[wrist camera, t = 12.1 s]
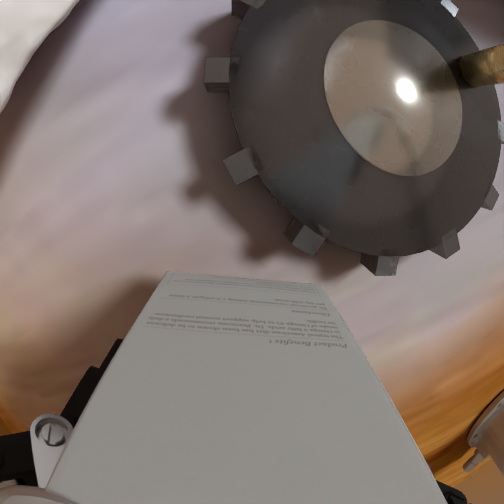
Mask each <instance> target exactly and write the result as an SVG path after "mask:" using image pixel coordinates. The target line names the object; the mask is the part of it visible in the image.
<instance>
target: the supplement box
mask: <svg viewBox="0 0 504 504" xmlns="http://www.w3.org/2000/svg"><path fill="white" fill-rule="evenodd" d="M44 491H45V492H47V493H50V494H53V495H56V496H59V497H62V498H64V499H66V500H69V501H71V502H74V503H76V504H447V502H446V500H445V498H444V496H443V494H442V492H441V490H440V488H439V486H438V484H437V482H436V480H435V478H434V476H433V474H432V473H431V471H430V469H429V467H428V465H427V463H426V461H425V459H424V457H423V456H422V454H421V452H420V450H419V448H418V446H417V444H416V443H415V441H414V439H413V437H412V435H411V434H410V432H409V430H408V428H407V426H406V425H405V423H404V421H403V419H402V418H401V416H400V414H399V412H398V410H397V408H396V407H395V405H394V404H393V402H392V400H391V398H390V396H389V394H388V393H387V391H386V389H385V388H384V386H383V384H382V383H381V381H380V379H379V377H378V376H377V374H376V373H375V371H374V369H373V367H372V366H371V364H370V362H369V361H368V359H367V357H366V356H365V354H364V352H363V351H362V349H361V347H360V346H359V344H358V343H357V341H356V340H355V338H354V336H353V334H352V333H351V331H350V330H349V328H348V326H347V325H346V323H345V322H344V320H343V318H342V317H341V315H340V314H339V312H338V311H337V309H336V308H335V306H334V305H333V303H332V302H331V300H330V298H329V297H328V295H327V294H326V292H325V291H324V289H323V288H322V286H321V285H319V284H307V283H296V282H284V281H271V280H258V279H246V278H235V277H223V276H212V275H201V274H191V273H180V272H171V271H167V272H166V273H165V275H164V276H163V278H162V280H161V281H160V283H159V284H158V286H157V287H156V289H155V290H154V292H153V293H152V295H151V297H150V298H149V300H148V301H147V303H146V304H145V306H144V307H143V309H142V311H141V312H140V314H139V316H138V317H137V319H136V320H135V322H134V324H133V325H132V327H131V328H130V330H129V332H128V333H127V335H126V337H125V338H124V340H123V342H122V343H121V345H120V347H119V348H118V350H117V352H116V354H115V355H114V357H113V359H112V360H111V362H110V364H109V365H108V367H107V369H106V371H105V372H104V374H103V376H102V378H101V379H100V381H99V383H98V385H97V387H96V388H95V390H94V392H93V394H92V396H91V398H90V399H89V401H88V403H87V405H86V407H85V409H84V410H83V412H82V414H81V416H80V418H79V420H78V422H77V424H76V425H75V427H74V429H73V431H72V433H71V435H70V437H69V439H68V441H67V443H66V445H65V447H64V449H63V451H62V453H61V455H60V457H59V459H58V461H57V463H56V465H55V467H54V470H53V472H52V474H51V476H50V478H49V481H48V483H47V485H46V487H45V490H44Z"/></svg>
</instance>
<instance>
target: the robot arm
mask: <svg viewBox="0 0 504 504" xmlns="http://www.w3.org/2000/svg"><path fill="white" fill-rule="evenodd" d="M122 342H123V340H122V339H119V338H118V339H117V340H116V342H115V343H114V345H113V346H112V348H111V350H110V351H109V353H108V355H107V356H106V358H105V360H104V361H103V363H102V365H101V366H100V368H96V367H93V366H91V367H89V369H88V370H87V372H86V373H85V375H84V376H83V378H82V380H81V381H80V383H79V384H78V386H77V388H76V389H75V391H74V393H73V394H72V396H71V398H70V399H69V401H68V403H67V404H66V406H65V408H64V409H63V411H62V413H61V415H60V416H59V415H56V414H44V415H41V416H39V417H37V418H36V419H35V420H34V421H33V422H32V424H31V428H30V431H26V432H21V433H16V434H10V435H4V436H0V504H76V503H74V502H71V501H69V500H66V499H64V498H62V497H59V496H56V495H53V494H50V493H47V492H45V491H44V490H45V487H46V485H47V483H48V481H49V478H50V476H51V474H52V472H53V470H54V467H55V465H56V463H57V461H58V459H59V457H60V455H61V453H62V451H63V449H64V447H65V445H66V443H67V441H68V439H69V437H70V435H71V433H72V431H73V429H74V427H75V425H76V424H77V422H78V420H79V418H80V416H81V414H82V412H83V410H84V409H85V407H86V405H87V403H88V401H89V399H90V398H91V396H92V394H93V392H94V390H95V388H96V387H97V385H98V383H99V381H100V379H101V378H102V376H103V374H104V372H105V371H106V369H107V367H108V365H109V364H110V362H111V360H112V359H113V357H114V355H115V354H116V352H117V350H118V348H119V347H120V345H121V343H122ZM467 443H468V444H469V446H470V447H476V450H475V451H474V455H473V456H472V457H470V458H469V459H468V460H467V461H466V462H465V463H464V464H463V469H464V471H466V472H470V471H471V470H472V469H473V468H474V467H475V466H476V465H477V464H478V463H479V462H483V461H484V460H485V459H487V458H489V457H491V458H492V459H493V461H494V462H495V464H496V465H497V467H498V468H499V469H500V471H501V473H502V474H503V475H504V391H503V392H502V393H501V394H500V395H499V396H498V397H497V398H496V399H495V400H494V401H493V402H492V403H491V404H490V405H489V406H488V408H487V409H486V410H485V411H484V412H483V413H482V415H481V416H480V417H479V418H478V420H477V421H476V422H475V424H474V425H473V427H472V428H471V430H470V432H469V434H468V437H467ZM426 463H427V462H426ZM427 465H428V464H427ZM428 467H429V469H430V466H429V465H428ZM430 471H431V469H430ZM436 482H437V484H438V486H439V488H440V490H441V492H442V494H443V496H444V498H445V500H446V502H447V504H467V499H466V497H465V495H464V494H463V493H462V492H460V491H459V490H457V489H454V488H452V487H450V486H448V485H446V484H443V483H441V482H439V481H437V480H436ZM469 504H471V503H469Z"/></svg>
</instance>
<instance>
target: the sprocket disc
mask: <svg viewBox="0 0 504 504" xmlns="http://www.w3.org/2000/svg"><path fill="white" fill-rule="evenodd" d="M458 10H459V9H458V8H457V7H456V6H455V5H454V4H453V3H452V2H451V1H450V0H232V15H233V16H235V17H237V18H240V19H242V22H241V24H240V26H239V28H238V30H237V33H236V36H235V39H234V43H233V46H232V50H231V57H206V59H205V73H204V84H205V87H206V89H207V92H208V93H229V97H230V106H231V112H232V118H233V123H234V126H235V129H236V132H237V136H238V139H239V142H240V144H241V146H242V148H243V150H241V151H239V152H237V153H235V154H233V155H231V156H230V157H228V158H226V159H224V160H223V162H224V164H225V166H226V168H227V169H228V171H229V173H230V175H231V177H232V178H233V180H234V182H235V184H236V185H238V184H240V183H242V182H244V181H246V180H247V179H249V178H251V177H253V176H255V175H257V176H258V177H259V179H260V180H261V182H262V183H263V184H264V185H265V187H266V188H267V189H268V190H269V191H270V193H271V194H272V195H273V196H274V197H275V198H276V199H277V200H278V201H279V202H280V203H281V204H282V205H283V206H284V207H285V208H286V209H287V210H288V211H289V212H290V213H291V214H292V215H293V216H294V219H293V220H292V222H291V223H290V225H289V226H288V228H287V229H286V231H285V232H284V234H285V235H286V237H287V238H288V240H289V241H290V243H291V244H292V245H293V246H295V247H297V248H298V249H300V250H302V251H303V252H305V253H306V254H308V255H310V256H311V257H314V255H315V254H316V252H317V251H318V249H319V248H320V246H321V245H322V243H323V242H324V240H325V239H328V240H329V241H331V242H333V243H335V244H337V245H340V246H342V247H345V248H347V249H350V250H352V251H356V252H361V253H362V254H361V260H360V263H361V264H363V265H364V266H365V267H366V268H367V269H368V270H369V271H370V272H372V273H373V274H374V275H375V276H395V274H396V269H397V264H398V258H399V256H407V255H411V254H416V253H420V252H424V251H426V250H430V251H432V252H434V253H436V254H438V255H439V256H441V257H443V258H445V259H447V258H448V257H450V256H451V255H452V254H454V253H455V252H457V251H458V250H460V246H459V241H458V236H457V233H458V232H459V231H460V230H462V229H463V228H464V227H465V226H466V225H467V224H468V222H469V221H470V220H471V219H472V218H473V217H474V216H475V214H476V213H477V211H478V210H479V209H480V207H482V208H486V209H489V210H492V209H493V207H494V205H495V203H496V201H497V199H498V196H499V194H498V192H497V191H496V189H495V188H494V186H493V185H492V183H493V181H494V178H495V174H496V171H497V167H498V163H499V157H500V150H501V144H504V123H502V122H501V115H500V108H499V102H498V97H497V93H496V90H495V86H494V85H495V84H502V83H504V44H502V45H498V46H494V47H490V48H487V49H483V50H480V51H479V49H478V47H477V46H476V44H475V42H474V41H473V39H472V38H471V36H470V35H469V33H468V32H467V31H466V29H465V28H464V27H463V26H462V24H461V23H460V22H459V21H458V20H457V19H456V18H455V16H456V14H457V12H458Z"/></svg>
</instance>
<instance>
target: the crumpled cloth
mask: <svg viewBox="0 0 504 504" xmlns="http://www.w3.org/2000/svg"><path fill="white" fill-rule="evenodd" d="M79 1H80V0H0V113H1V112H2V110H3V109H4V107H5V106H6V104H7V103H8V101H9V99H10V96H11V94H12V91H13V88H14V86H15V83H16V81H17V80H18V78H19V77H20V75H21V74H22V72H23V71H24V69H25V67H26V65H27V64H28V62H29V61H30V59H31V58H32V56H33V54H34V53H35V51H36V50H37V49H38V48H39V46H40V45H41V44H42V42H43V41H44V40H45V38H46V37H47V36H48V35H49V33H50V32H52V31H53V30H54V29H56V28H57V27H58V26H59V25H60V24H61V23H62V22H63V21H64V20H65V19H66V18H67V17H68V15H69V14H70V12H71V11H72V9H73V7H74V6H75V5H76V4H77V3H78V2H79Z"/></svg>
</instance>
